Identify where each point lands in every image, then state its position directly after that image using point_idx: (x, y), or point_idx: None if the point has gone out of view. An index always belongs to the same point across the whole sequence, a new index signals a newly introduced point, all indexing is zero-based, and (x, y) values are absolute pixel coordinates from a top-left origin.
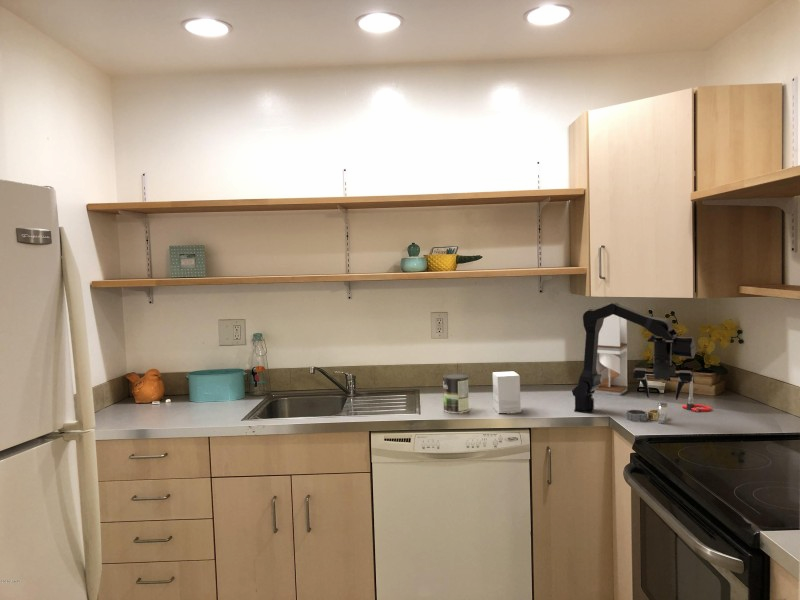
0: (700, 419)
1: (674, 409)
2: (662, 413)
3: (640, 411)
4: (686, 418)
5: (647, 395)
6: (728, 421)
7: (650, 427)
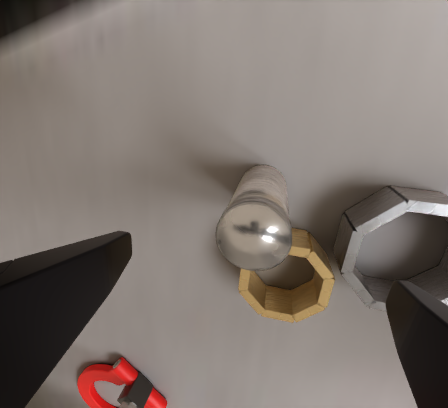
0: None
1: (195, 387)
2: (262, 182)
3: (374, 296)
4: (154, 277)
5: (423, 293)
6: (15, 255)
7: (350, 68)
